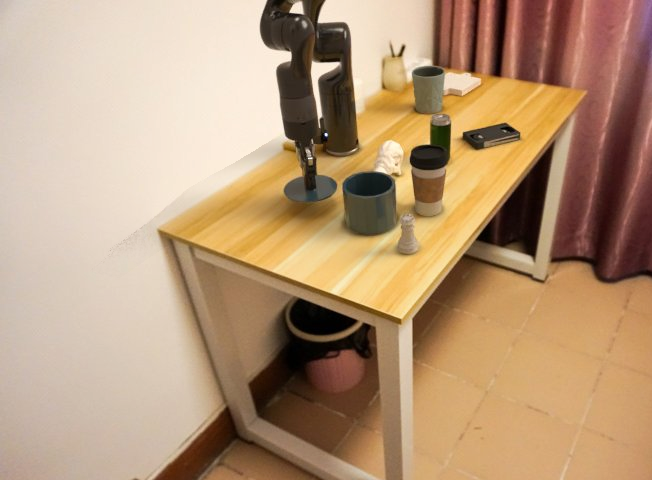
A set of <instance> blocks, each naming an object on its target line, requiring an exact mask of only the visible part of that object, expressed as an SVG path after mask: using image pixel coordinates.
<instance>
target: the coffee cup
mask: <svg viewBox="0 0 652 480" xmlns="http://www.w3.org/2000/svg"><path fill="white" fill-rule="evenodd" d="M448 163H449V162H448V156H447V150H446V148H445V147H443V146H439V145H431V144H430V143H429V144H428V143H427V144H426V143H425V144H420V145H417V146H414V147H413V148H412V149H411V150H410V156H409V164H410V166H411V168H410V169H411V170H410V173H411V181H412V189H413V196H414V207H415V212H416V213H417V214H419V215H421V216H424V217H434V216H437V215H439V214H440V213H441V211H442V207H443V198H444V191H445V183H446V175H447V168H446V167H447V165H448Z"/></svg>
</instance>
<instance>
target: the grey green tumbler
mask: <svg viewBox="0 0 652 480" xmlns="http://www.w3.org/2000/svg"><path fill="white" fill-rule="evenodd" d="M445 74H446V70H445V69H444V67H441V66H438V65H421V66H417V67H414V68H413V69H412V71H411V78H412V79H411V80H412V87H413V98H414V108H415V111H416V112H418V113H420V114H425V115H432V114H433V115H435V114H438V113H440V112H441V111H442V110H443V102H444V95H443V88H444V79H445Z"/></svg>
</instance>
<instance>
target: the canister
mask: <svg viewBox="0 0 652 480" xmlns="http://www.w3.org/2000/svg"><path fill="white" fill-rule="evenodd" d="M341 189H342V200H343V206H344V207H343V208H344V219H345V225H346V227H347V228H348V229H349V230H350V231H351V232H353V233H355V234H358V235H363V236H377V235H382V234H385V233H387V232H389V231H390V230H392V229H393V228H394V227H395V226H396V224H397V221H398V214H397V213H398V211H397V210H398V209H397V186H396V180H395V178H393V176H392V175H388V174H386V173H383V172H376V171H373V170H368V171H360V172H356V173H353V174H351V175H350V176H347V177H346V178H345V179H344V180H343V182H342V183H341Z"/></svg>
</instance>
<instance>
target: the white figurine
mask: <svg viewBox="0 0 652 480" xmlns="http://www.w3.org/2000/svg"><path fill="white" fill-rule="evenodd" d="M404 153H405V151H404V150H403V149H402V146H401V145H400V143H398V142H396V141H394V140H393V139H392V140H385V141H384V142H382V143H381V145H380V146H379V147H378V148H377V156H376V158H375V160H374V162H373V170H372V171H376V172H383V173H386V174H388V175H390V176H392V174H395V175H397V176H401V175H402V170H401V167H402V162H403V160H404Z"/></svg>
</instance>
